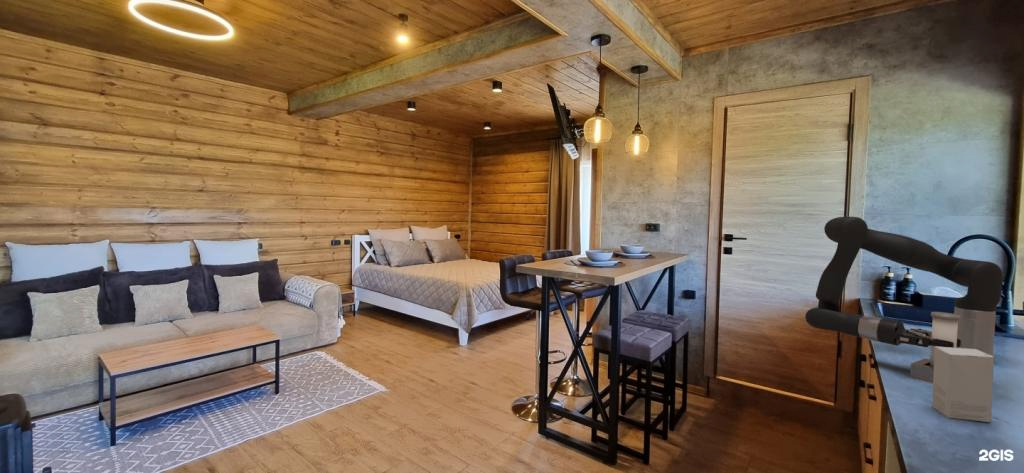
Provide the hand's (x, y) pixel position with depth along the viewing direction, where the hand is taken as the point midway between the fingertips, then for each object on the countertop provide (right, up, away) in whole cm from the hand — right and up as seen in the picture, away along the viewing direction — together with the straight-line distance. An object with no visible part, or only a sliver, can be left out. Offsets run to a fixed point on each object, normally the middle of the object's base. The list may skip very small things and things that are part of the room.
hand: (956, 344), depth 118 cm
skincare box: (-16, -13, -17) cm, 27 cm away
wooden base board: (+4, -12, +6) cm, 14 cm away
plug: (-1, -10, +3) cm, 10 cm away
